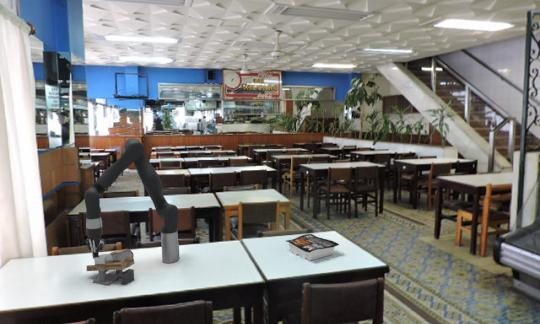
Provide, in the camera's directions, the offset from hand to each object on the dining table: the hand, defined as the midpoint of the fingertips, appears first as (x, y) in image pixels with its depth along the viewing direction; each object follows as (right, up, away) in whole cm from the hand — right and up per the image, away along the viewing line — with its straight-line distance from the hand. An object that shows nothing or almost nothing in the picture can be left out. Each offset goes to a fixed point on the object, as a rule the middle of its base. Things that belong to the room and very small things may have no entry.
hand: (95, 258), depth 199 cm
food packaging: (+116, -5, +31) cm, 120 cm away
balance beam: (+9, -4, -4) cm, 11 cm away
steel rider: (+6, -3, -2) cm, 7 cm away
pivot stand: (+13, -10, -4) cm, 17 cm away
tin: (+7, -8, +16) cm, 19 cm away
